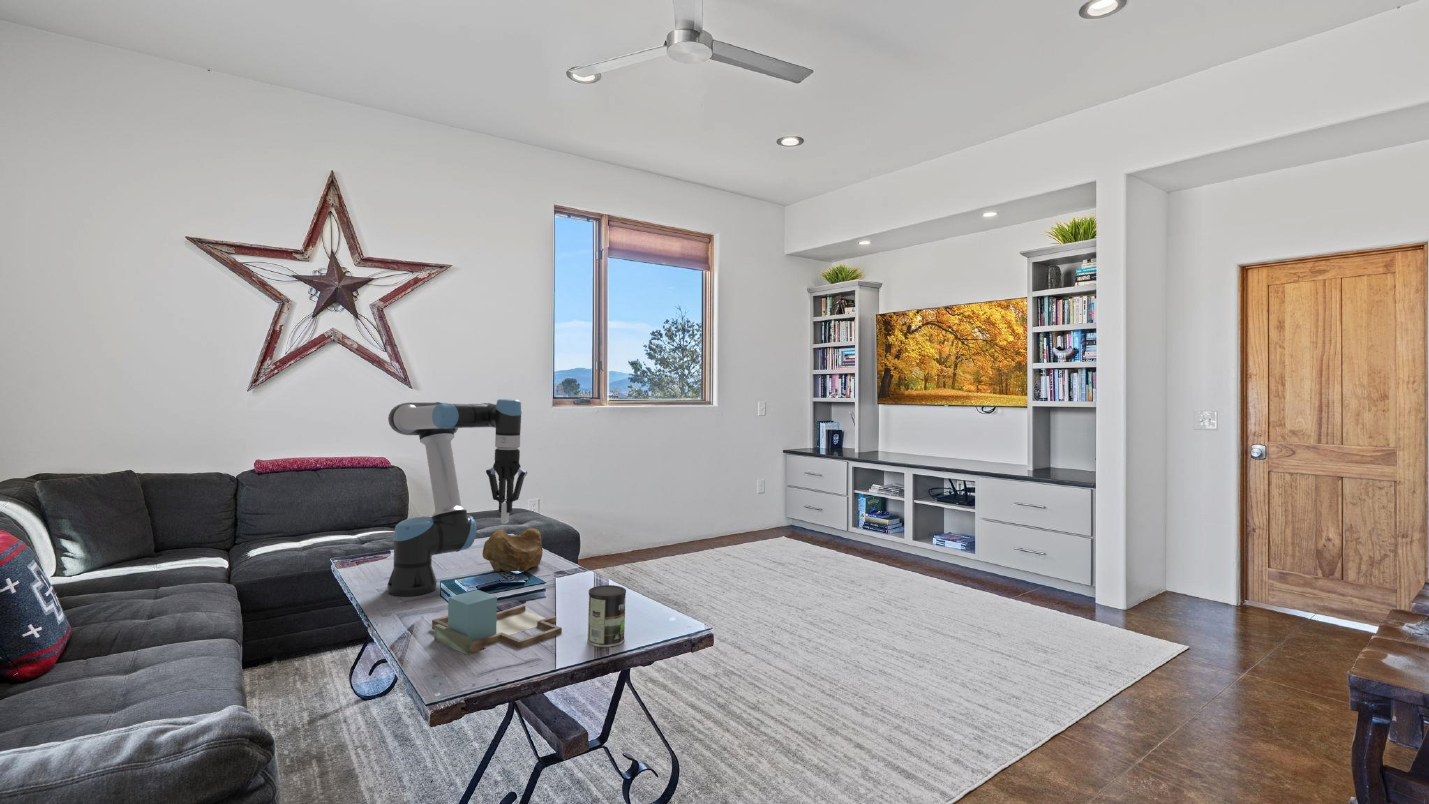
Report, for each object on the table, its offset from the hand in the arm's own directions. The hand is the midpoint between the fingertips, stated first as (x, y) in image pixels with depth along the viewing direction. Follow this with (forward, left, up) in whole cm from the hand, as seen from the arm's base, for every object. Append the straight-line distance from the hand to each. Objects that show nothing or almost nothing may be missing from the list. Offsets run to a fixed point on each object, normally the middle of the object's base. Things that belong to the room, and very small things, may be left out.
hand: (504, 522), depth 215 cm
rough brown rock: (-11, +38, -26) cm, 48 cm away
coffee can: (+40, -22, -26) cm, 53 cm away
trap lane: (+9, -22, -26) cm, 35 cm away
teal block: (+4, -30, -25) cm, 39 cm away
